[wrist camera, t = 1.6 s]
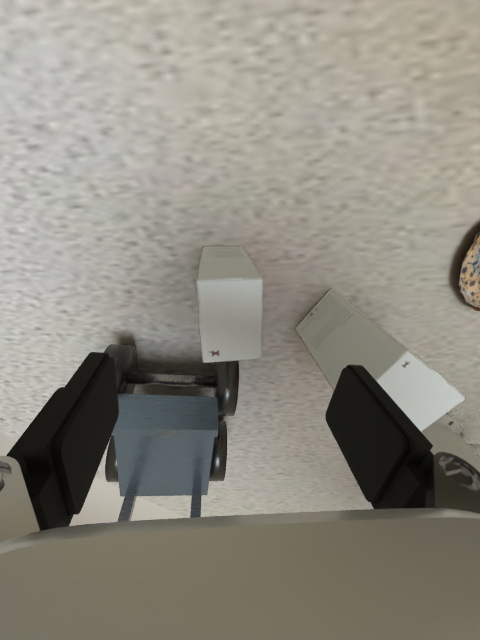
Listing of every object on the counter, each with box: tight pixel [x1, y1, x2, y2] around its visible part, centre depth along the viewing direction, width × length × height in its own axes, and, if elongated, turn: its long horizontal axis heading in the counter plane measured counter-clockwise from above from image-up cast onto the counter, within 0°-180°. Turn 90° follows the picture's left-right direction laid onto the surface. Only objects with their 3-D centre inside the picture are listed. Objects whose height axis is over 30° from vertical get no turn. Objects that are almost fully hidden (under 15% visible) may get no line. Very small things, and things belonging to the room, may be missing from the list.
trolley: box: [104, 344, 239, 522], centre depth 24 cm, size 13×18×21 cm
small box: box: [295, 289, 465, 431], centre depth 25 cm, size 8×6×13 cm
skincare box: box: [196, 246, 263, 363], centre depth 22 cm, size 6×4×12 cm
